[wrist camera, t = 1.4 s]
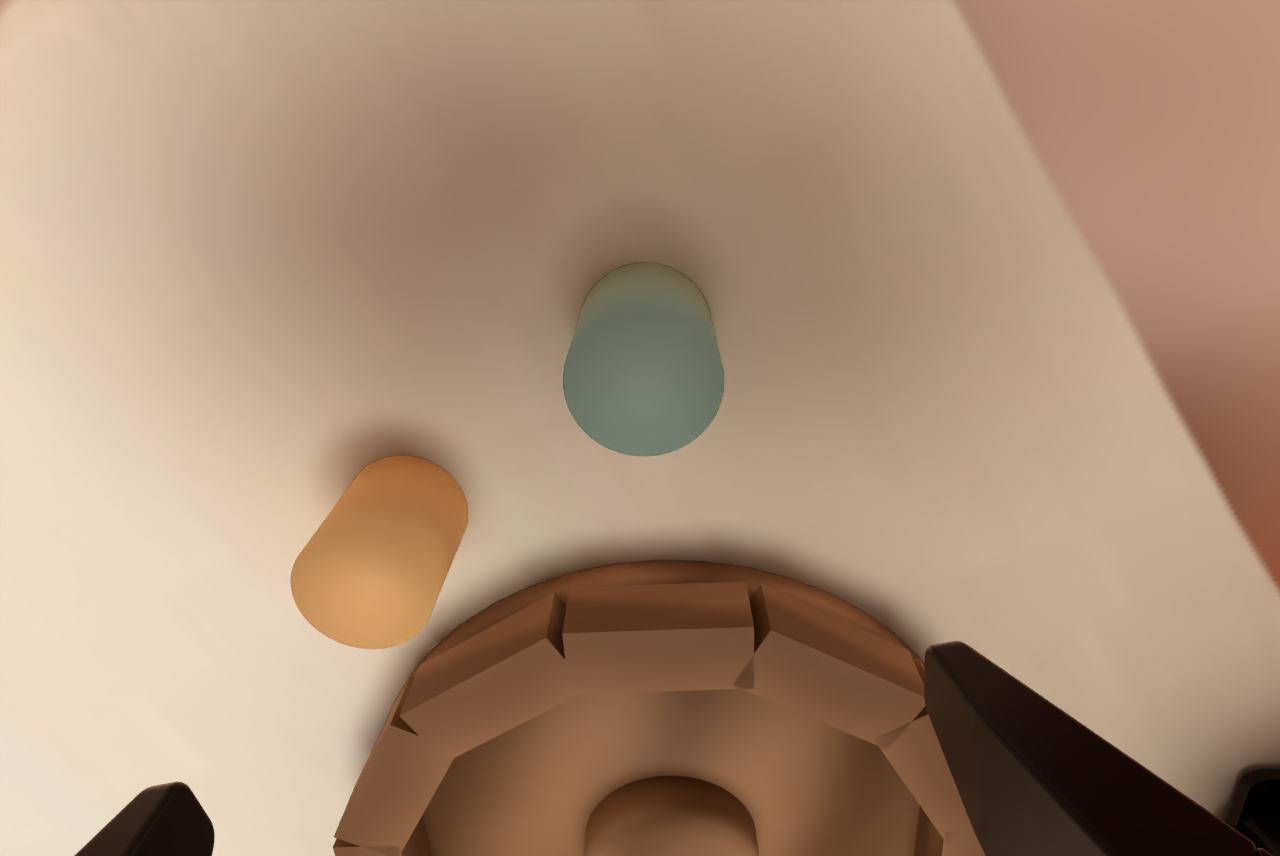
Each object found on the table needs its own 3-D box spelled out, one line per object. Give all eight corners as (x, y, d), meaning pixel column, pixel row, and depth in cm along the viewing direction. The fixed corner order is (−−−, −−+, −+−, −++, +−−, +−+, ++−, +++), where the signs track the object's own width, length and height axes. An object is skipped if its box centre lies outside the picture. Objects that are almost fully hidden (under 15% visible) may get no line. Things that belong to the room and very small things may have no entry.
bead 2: (710, 259, 20) (723, 301, 16) (712, 387, 21) (724, 452, 17) (573, 265, 20) (555, 308, 16) (584, 393, 21) (570, 459, 18)
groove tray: (1004, 547, 23) (1056, 616, 20) (936, 986, 31) (966, 1081, 28) (319, 572, 24) (272, 643, 21) (427, 996, 32) (404, 1089, 29)
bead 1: (459, 453, 22) (420, 527, 18) (475, 557, 23) (443, 646, 20) (337, 457, 22) (275, 533, 18) (361, 561, 23) (308, 651, 20)
